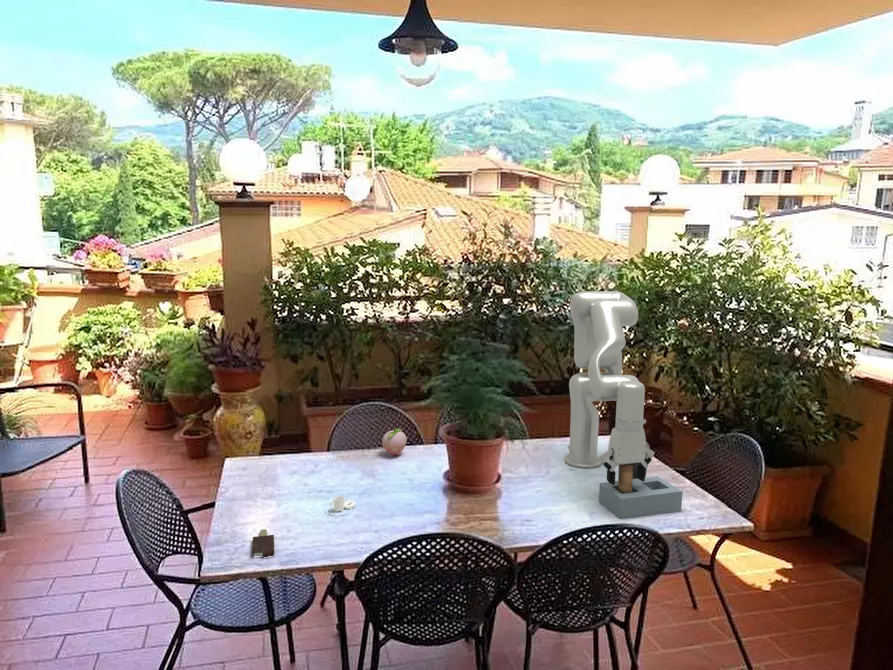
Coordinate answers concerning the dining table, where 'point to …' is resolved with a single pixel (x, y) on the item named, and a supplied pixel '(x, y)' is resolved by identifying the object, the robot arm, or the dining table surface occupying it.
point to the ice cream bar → (263, 544)
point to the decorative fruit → (394, 441)
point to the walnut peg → (625, 478)
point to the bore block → (641, 498)
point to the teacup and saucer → (342, 504)
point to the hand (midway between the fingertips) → (625, 481)
